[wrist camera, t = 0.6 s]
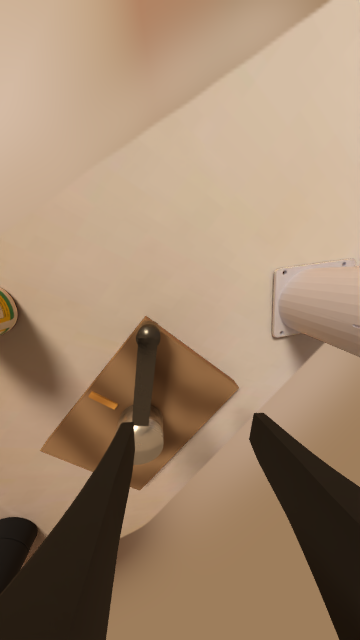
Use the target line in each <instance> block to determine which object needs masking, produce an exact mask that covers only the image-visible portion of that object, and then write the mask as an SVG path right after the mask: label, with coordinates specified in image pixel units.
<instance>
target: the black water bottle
mask: <svg viewBox="0 0 360 640" xmlns="http://www.w3.org/2000/svg"><path fill="white" fill-rule="evenodd" d="M36 535H37V528H36V526H35V525H34V524H33V523H32V522H31V521H28V520H26V519H22V518H5V519H1V520H0V594H1V593H2V591H3V590H4V589H5V588H6V587H7V585H8V584H9V583H10V582H11V581H12V579H13V578H14V577H15V576H16V575H17V574H18V572H19V571H20V569H21V567H22V565H23V563H24V561H25V559H26V557H27V554H28V552H29V550H30V548H31V546H32V544H33V542H34V540H35V537H36Z"/></svg>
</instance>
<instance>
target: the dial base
mask: <svg viewBox="0 0 360 640" xmlns="http://www.w3.org/2000/svg"><path fill="white" fill-rule="evenodd" d="M145 321H152V320H151V319H150V318H148V317H147V316H145V317H144V319H143V320H142V321H141V322H140V324H139V325H138V326H137V327H136V329H135V330H134V331H133V332H132V334H131V335H130V336H129V338H128V339H127V340H126V341H125V343H124V344H123V345H122V346H121V348H120V349H119V350H118V351H117V353H116V354H115V355H114V356H113V358H112V359H111V360H110V361H109V363H108V364H107V365H106V366H105V368H104V369H103V370H102V371H101V373H100V374H99V375H98V376H97V378H96V379H95V380H94V382H93V383H92V384H91V385H90V387H89V388H88V389H87V390H86V392H85V393H84V394H83V395H82V397H81V398H80V399H79V400H78V402H77V403H76V404H75V405H74V407H73V408H72V409H71V410H70V412H69V413H68V414H67V415H66V417H65V418H64V419H63V421H62V422H61V423H60V424H59V426H58V427H57V428H56V429H55V431H54V432H53V433H52V434H51V436H50V437H49V438H48V440H47V441H46V442H45V444H44V445H43V447H42V448H41V450H40V451H42V452H44V453H47V454H49V455H52V456H54V457H57V458H59V459H62V460H64V461H67V462H69V463H72V464H74V465H77V466H79V467H82V468H84V469H87V470H89V471H92V472H94V470H95V469H96V467H97V465H98V464H99V462H100V461H101V459H102V457H103V456H104V454H105V452H106V451H107V449H108V447H109V445H110V444H111V442H112V440H113V438H114V436H115V433H116V429H117V426H118V422H119V419H120V416H121V414H122V412H123V411H124V410H125V409H126V408H127V407H129V406H131V405H133V401H134V388H135V375H136V362H137V349H138V344H137V342H136V335H137V332H138V330H139V327H140V325H141V324H142V323H143V322H145ZM159 327H160V326H159ZM160 337H161V339H160V343H159V345H158V346H157V354H156V363H155V372H154V381H153V391H152V400H151V404H152V405H154V406H155V407H157V408H158V409H159V410H160V411H161V413H162V416H163V442H164V444H163V449H162V451H161V453H160V454H159V456H158V457H157V458H155V459H154V460H152V461H150V462H148V463H145V464H140V465H133V473H132V478H131V483H130V487H132V488H134V489H137V490H141V489H142V488H143V487H144V486H145V485H146V484H147V482H148V481H149V480H150V479H151V478H152V477H153V476H154V475H155V474H156V473H157V472H158V471H159V470H160V469H161V468H162V467H163V466H164V465H165V464H166V463H167V462H168V461H169V460H170V459H171V458H172V457H173V456H174V455H175V454H176V453H177V451H178V450H179V449H180V448H181V447H182V446H183V445H184V444H185V443H186V442H187V441H188V440H189V439H190V438H191V437H192V436H193V435H194V434H195V433H196V432H197V431H198V430H199V429H200V428H201V427H202V426H203V425H204V424H205V423H206V422H207V421H208V419H209V418H210V417H211V416H212V415H213V414H214V413H215V412H216V411H217V410H218V409H219V408H220V407H221V406H222V405H223V404H224V403H225V402H226V401H227V400H228V399H229V398H230V397H231V396H232V395H233V394H234V393H235V392H236V391H237V390H238V388H239V387H238V386H237V384H236V383H235V381H234V380H233V379H231V378H230V377H229V376H227V375H226V374H225V373H223V372H222V371H220V370H219V369H218V368H216V367H215V366H214V365H212V364H211V363H210V362H208V361H207V360H205V359H204V358H203V357H201V356H200V355H199V354H197V353H196V352H195V351H193V350H192V349H190V348H189V347H188V346H186V345H185V344H184V343H182V342H181V341H180V340H178V339H177V338H175V337H174V336H173V335H171V334H170V333H169V332H167V331H166V330H165V329H163V328H162V327H160Z"/></svg>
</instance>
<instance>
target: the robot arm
mask: <svg viewBox="0 0 360 640" xmlns="http://www.w3.org/2000/svg"><path fill="white" fill-rule="evenodd" d="M355 265H356V261H355V259H345V260H337V261H330V262H323V263H316V264H308V265H301V266H294V267H286V268H279V269H276V270H275V272H274V288H273V319H272V335H273V336H274V337H276V338H278V337H284V336H289V335H295V334H301V333H304V334H306V335H308V336H311V337H313V338H316V339H318V340H320V341H323V342H325V343H328V344H330V345H332V346H335V347H337V348H339V349H342V350H344V351H347V352H349V353H352V354H354V355H356V356H359V357H360V266H355ZM283 271H284V274H283ZM281 331H282V332H281ZM280 332H281V334H280ZM249 440H250V442H251V445H252V448H253V450H254V452H255V455H256V457H257V460H258V462H259V464H260V466H261V467H262V469H263V471H264V473H265V475H266V477H267V479H268V481H269V483H270V485H271V487H272V488H273V491H274V492H275V494H276V496H277V498H278V500H279V502H280V504H281V506H282V508H283V510H284V511H285V513H286V515H287V517H288V520H289V521H290V524H291V526H292V528H293V530H294V533H295V535H296V537H297V539H298V541H299V544H300V546H301V548H302V551H303V553H304V555H305V558H306V560H307V562H308V565H309V567H310V569H311V572H312V574H313V576H314V579H315V581H316V583H317V586H318V588H319V590H320V593H321V595H322V598H323V600H324V602H325V605H326V608H327V610H328V612H329V615H330V618H331V620H332V623H333V625H334V628H335V630H336V632H337V635H338V637H339V640H360V487H359V486H357V485H356V484H355V483H353V482H352V481H350V480H349V479H347V478H346V477H344V476H343V475H341V474H340V473H339V472H337V471H336V470H334V469H333V468H332V467H330V466H329V465H328V464H326V463H325V462H324V461H322V460H321V459H319V458H318V457H317V456H316V455H314V454H313V453H312V452H311V451H309V450H308V449H307V448H305V447H304V446H303V445H302V444H300V443H299V442H298V441H297V440H296V439H294V438H293V437H292V436H290V435H289V434H288V433H287V432H286V431H285V430H284V429H282V428H281V427H280V426H279V425H278V424H276V423H275V422H274V421H273V420H272V419H270V418H269V417H268V416H267V415H265V414H264V413H254V416H253V421H252V427H251V432H250V438H249ZM134 455H135V438H134V422H122V423H121V424H120V426H119V428H118V430H117V432H116V434H115V436H114V438H113V440H112V442H111V444H110V445H109V447H108V449H107V451H106V452H105V454H104V456H103V457H102V459H101V461H100V462H99V464H98V465H97V467H96V469H95V470H94V472H93V473H92V475H91V476H90V478H89V479H88V481H87V482H86V484H85V485H84V487H83V488H82V490H81V491H80V493H79V494H78V496H77V497H76V499H75V500H74V501H73V503H72V504H71V506H70V507H69V508H68V510H67V511H66V512H65V514H64V515H63V517H62V518H61V519H60V521H59V522H58V523H57V525H56V526H55V527H54V528H53V530H52V531H51V532H50V534H49V535H48V536H47V538H46V539H45V540H44V541H43V543H42V544H41V545H40V547H39V548H38V549H37V550H36V552H35V553H34V554H33V555H32V557H31V558H30V559H29V560H28V562H27V563H26V564H25V565H24V566H23V568H22V569H21V570H20V571H19V572H18V574H17V575H16V576H15V577H14V578H13V579H12V581H11V582H10V583H9V584H8V585H7V587H6V588H5V589H4V590H3V591H2V593H1V594H0V640H106V634H107V626H108V619H109V611H110V603H111V595H112V587H113V581H114V574H115V565H116V559H117V551H118V545H119V540H120V534H121V529H122V524H123V519H124V513H125V508H126V503H127V498H128V493H129V488H130V483H131V478H132V473H133V464H134Z"/></svg>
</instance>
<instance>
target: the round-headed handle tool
mask: <svg viewBox="0 0 360 640" xmlns="http://www.w3.org/2000/svg"><path fill="white" fill-rule="evenodd" d="M160 339H161V337H160V327H159V325H158V324H157V323H156V322H154V321H145V322H143V323H142V324H141V325H140V327H139V330H138V332H137V335H136V342H137V344H138V349H137V362H136V375H135V388H134V401H133V405H131V406H129V407H127V408H126V409H125V410H124V411H123V412H122V414H121V416H120V419H119V422H118V426H117V429H116V432H117V430H118V428H119V426H120V424H121V423H122V422H134V438H135V455H134V464H133V465H140V464H145V463H148V462H150V461H152V460H154V459H155V458H157V457H158V456H159V454H160V453H161V451H162V449H163V444H164V442H163V416H162V413H161V411H160V410H159V409H158V408H157V407H155V406H154V405H152V404H151V400H152V391H153V381H154V372H155V363H156V354H157V346H158V345H159V343H160ZM115 434H116V433H115Z"/></svg>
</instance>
